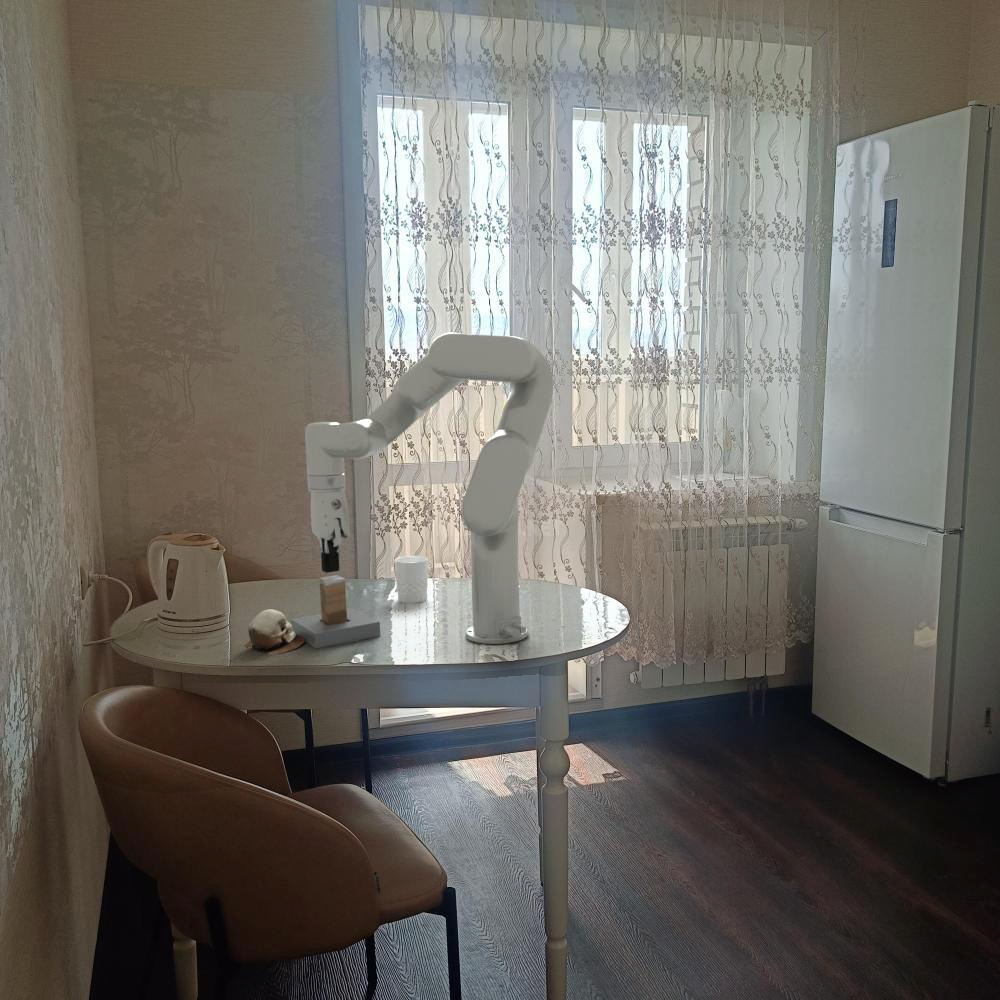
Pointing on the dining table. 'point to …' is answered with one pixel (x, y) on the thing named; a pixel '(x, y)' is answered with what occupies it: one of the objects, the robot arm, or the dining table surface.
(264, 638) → the skull
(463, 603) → the dining table surface
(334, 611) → the peg
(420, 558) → the white cup
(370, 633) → the socket
